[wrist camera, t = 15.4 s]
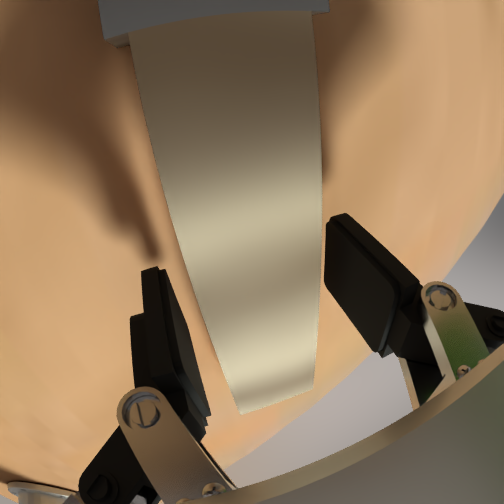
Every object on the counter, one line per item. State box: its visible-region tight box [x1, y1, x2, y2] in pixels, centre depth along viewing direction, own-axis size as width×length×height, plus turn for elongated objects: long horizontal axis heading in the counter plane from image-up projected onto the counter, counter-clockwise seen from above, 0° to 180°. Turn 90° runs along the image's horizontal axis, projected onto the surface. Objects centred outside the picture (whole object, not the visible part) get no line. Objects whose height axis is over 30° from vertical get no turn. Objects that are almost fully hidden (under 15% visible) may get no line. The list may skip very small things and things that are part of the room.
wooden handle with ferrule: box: [98, 0, 330, 415], centre depth 9 cm, size 22×5×3 cm, turn 6°
